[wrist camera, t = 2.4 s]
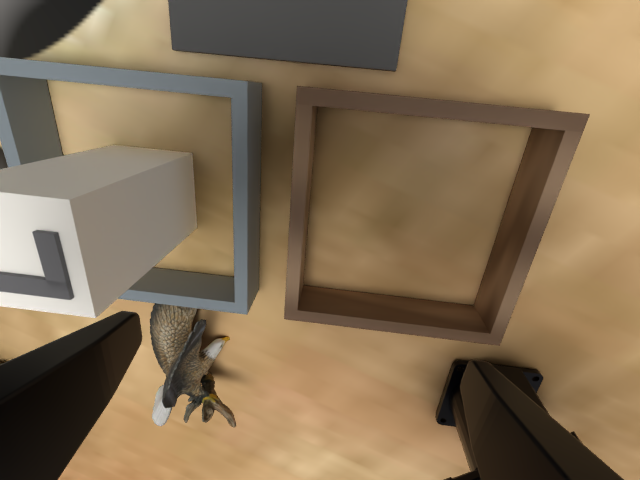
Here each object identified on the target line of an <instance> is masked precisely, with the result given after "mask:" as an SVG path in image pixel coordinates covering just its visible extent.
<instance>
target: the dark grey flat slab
mask: <svg viewBox="0 0 640 480" xmlns="http://www.w3.org/2000/svg"><path fill="white" fill-rule="evenodd" d="M168 2H169V15H170V27H171V40H172V50H176V51H185V52H196V53H207V54H217V55H228V56H238V57H249V58H260V59H270V60H281V61H292V62H302V63H313V64H323V65H334V66H345V67H355V68H366V69H377V70H387V71H396V68H397V62H398V56H399V49H400V43H401V37H402V31H403V25H404V19H405V12H406V6H407V0H168Z"/></svg>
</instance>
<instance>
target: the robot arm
mask: <svg viewBox="0 0 640 480" xmlns="http://www.w3.org/2000/svg"><path fill="white" fill-rule="evenodd" d="M141 341H142V332H141V324H140V318H139V315H138V314H137V313H135V312H128V311H121V312H118V313H116V314H114V315H111V316H109V317H107V318H105V319H102V320H100V321H98V322H96V323H93V324H91V325H89V326H87V327H84V328H82V329H80V330H78V331H75V332H73V333H71V334H69V335H66V336H64V337H62V338H60V339H57V340H55V341H53V342H51V343H48V344H46V345H44V346H42V347H39V348H37V349H35V350H32V351H30V352H28V353H26V354H23V355H21V356H19V357H17V358H14V359H12V360H10V361H8V362H5V363H3V364H1V365H0V480H58V478H59V477H60V475H61V474H62V472H63V471H64V469H65V468H66V466H67V465H68V463H69V462H70V460H71V459H72V457H73V456H74V454H75V453H76V451H77V450H78V448H79V447H80V445H81V444H82V442H83V441H84V439H85V438H86V436H87V435H88V433H89V432H90V430H91V429H92V427H93V426H94V424H95V423H96V421H97V420H98V418H99V417H100V415H101V414H102V412H103V411H104V409H105V408H106V406H107V405H108V403H109V402H110V400H111V398H112V397H113V395H114V393H115V392H116V390H117V388H118V386H119V384H120V382H121V380H122V379H123V377H124V375H125V373H126V371H127V369H128V367H129V365H130V364H131V362H132V360H133V358H134V356H135V354H136V352H137V350H138V349H139V347H140V345H141ZM458 367H461V368H458ZM542 380H543V376H542V375H541V373H540V372H539V371H538V370H534V369H526V368H518V367H510V366H502V365H494V364H490V363H488V362H487V361H483V360H476V359H472V360H470V361H462V360H458V361H455V362H454V363H453V364H452V367H451V370H450V373H449V376H448V379H447V383H446V386H445V389H444V392H443V395H442V398H441V401H440V404H439V407H438V410H437V413H436V420H437V423H438V424H441V425H447V426H455V427H456V428H457V431H458V434H459V437H460V440H461V443H462V446H463V449H464V452H465V456H466V459H467V462H468V465H469V468H470V471H471V472H468V473H465V474H463V475H460V476H457V477H455V478H451V477H450V478H447V479H444V480H624V479H623V478H621V477H620V476H619V475H618V474H617V473H616V472H614V471H613V470H612V469H611V468H610V467H609V466H607V465H606V464H605V463H604V462H603V461H602V460H601V459H599V458H598V457H597V456H596V455H595V454H594V453H592V452H591V451H590V450H589V449H588V448H587V447H586V446H584V445H583V443H582V442H581V440H580V439H579V438H578V436H577V435H576V434H575V432H574V431H573V432H571V433H569V432H568V431H567V430H566V429H565V428H564V427H562V426H561V425H560V424H559V423H558V422H557V421H556V420H554V419H553V418H552V417H551V416H550V415H549V413H548V412H547V410H546V408H545V407H544V405H543V404H542V402H541V400H540V399H539V397H538V396H537V394H536V393H537V391H538V388H539V386H540V384H541V382H542Z"/></svg>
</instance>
